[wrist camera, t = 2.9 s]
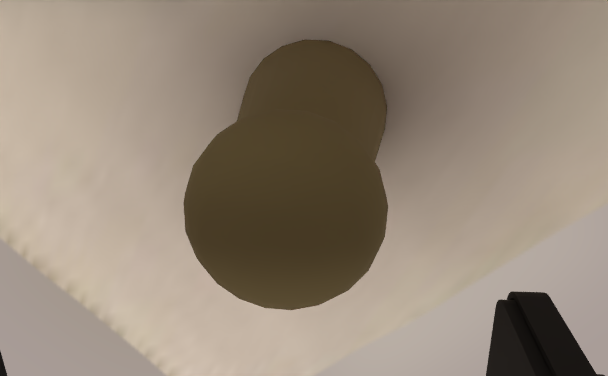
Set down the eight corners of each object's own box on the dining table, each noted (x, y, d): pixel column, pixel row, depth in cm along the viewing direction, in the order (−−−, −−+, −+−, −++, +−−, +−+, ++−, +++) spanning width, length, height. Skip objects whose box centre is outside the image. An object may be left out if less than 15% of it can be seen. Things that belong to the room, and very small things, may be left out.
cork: (382, 30, 21) (403, 101, 11) (391, 174, 23) (416, 344, 13) (230, 48, 22) (118, 129, 12) (254, 185, 24) (178, 352, 14)
